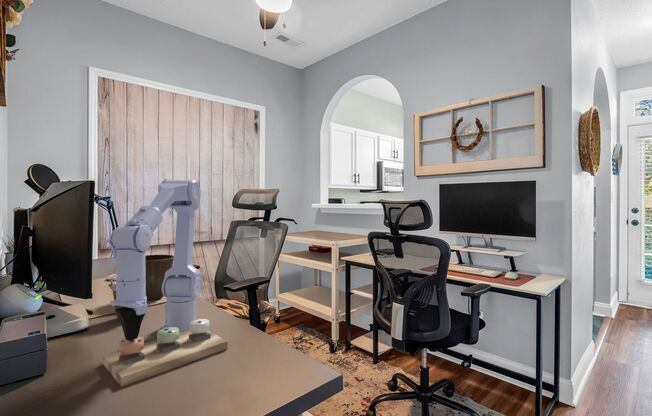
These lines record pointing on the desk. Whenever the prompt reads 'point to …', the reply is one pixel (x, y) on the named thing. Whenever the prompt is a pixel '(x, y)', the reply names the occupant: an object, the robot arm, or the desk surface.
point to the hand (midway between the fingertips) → (131, 338)
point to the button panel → (162, 356)
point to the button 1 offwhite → (199, 326)
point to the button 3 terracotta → (131, 346)
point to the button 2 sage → (168, 335)
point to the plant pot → (156, 274)
